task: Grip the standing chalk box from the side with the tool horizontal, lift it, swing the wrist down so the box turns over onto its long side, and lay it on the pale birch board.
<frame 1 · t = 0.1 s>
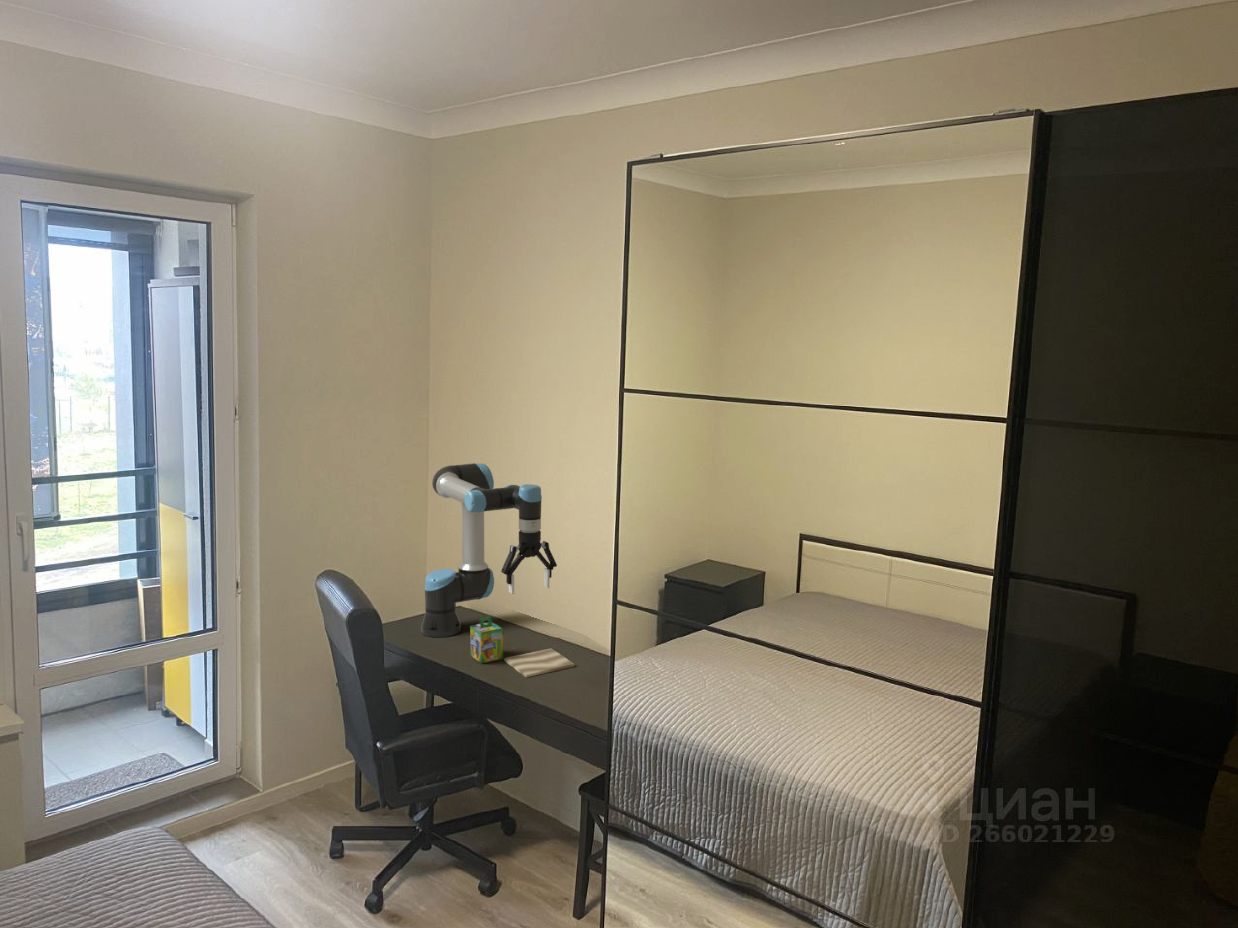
hand: (529, 590, 303), 28 cm above the table, tool pointing down, fingers open, 13 cm apart
birch board: (539, 663, 310), on the table
chalk box: (486, 658, 315), on the table
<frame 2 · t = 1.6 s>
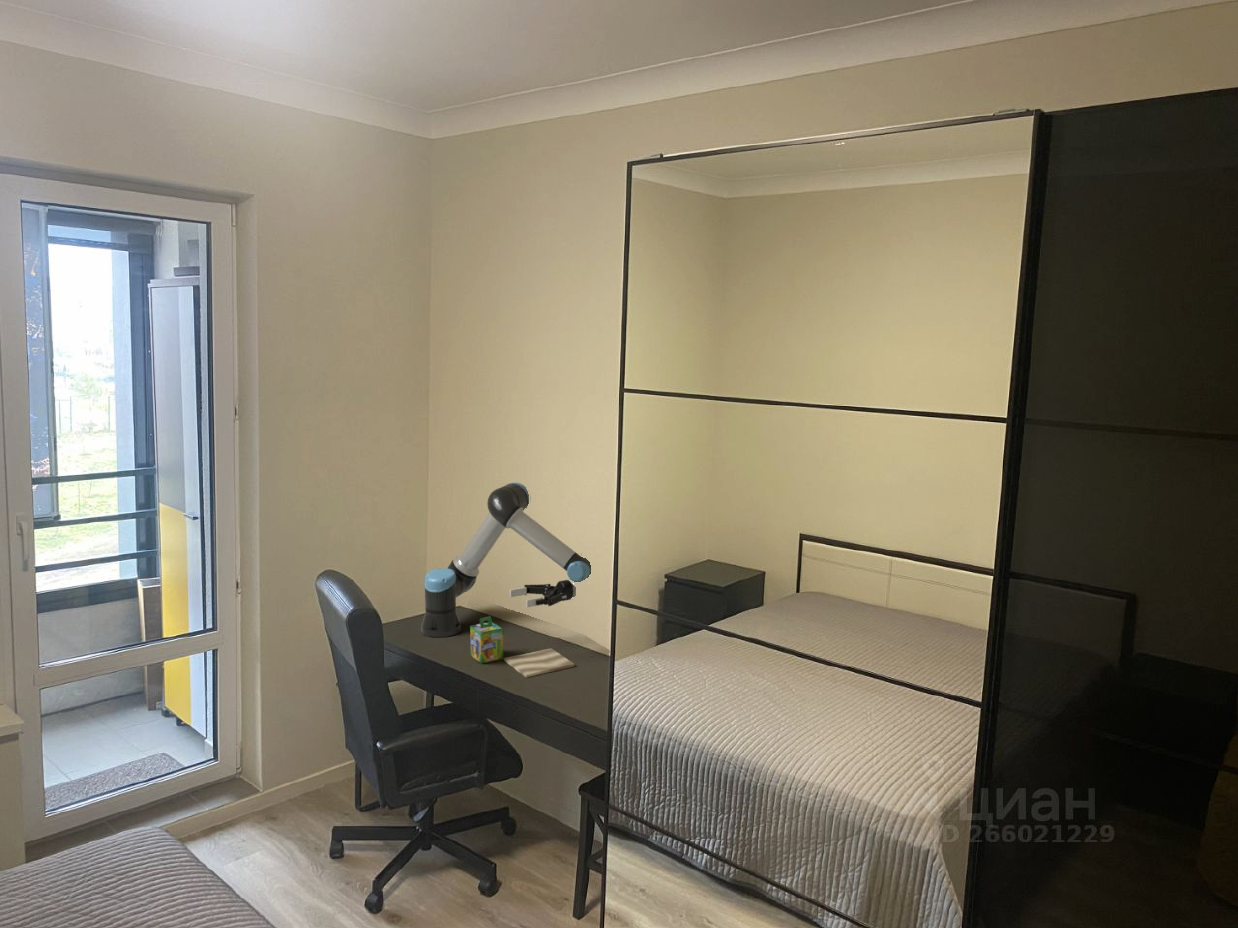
hand: (518, 598, 319), 20 cm above the table, tool horizontal, fingers open, 13 cm apart
nothing on the table moved.
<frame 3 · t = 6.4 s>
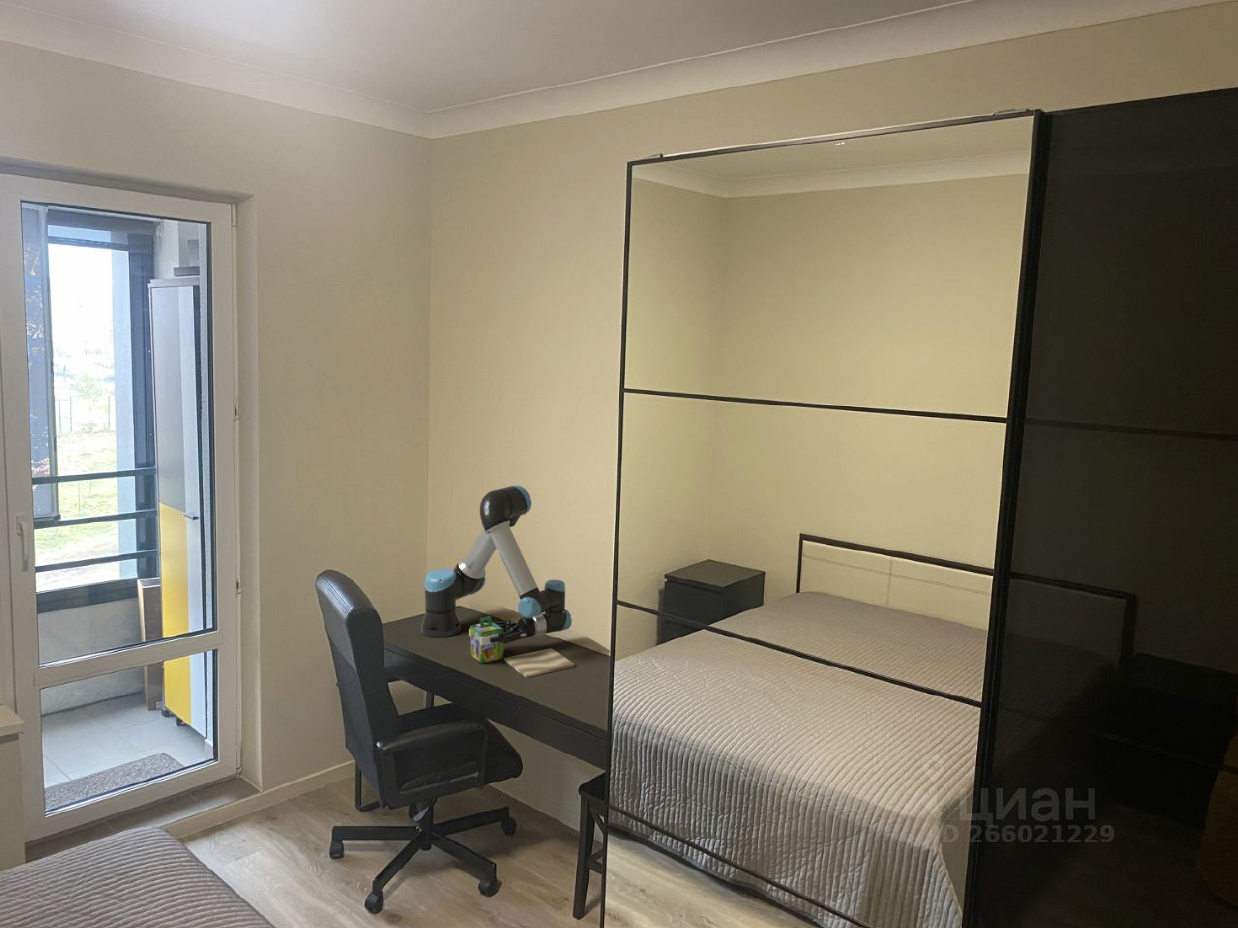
hand: (475, 636, 311), 9 cm above the table, tool horizontal, fingers closed on chalk box, 9 cm apart
chalk box: (486, 657, 315), on the table, touching gripper
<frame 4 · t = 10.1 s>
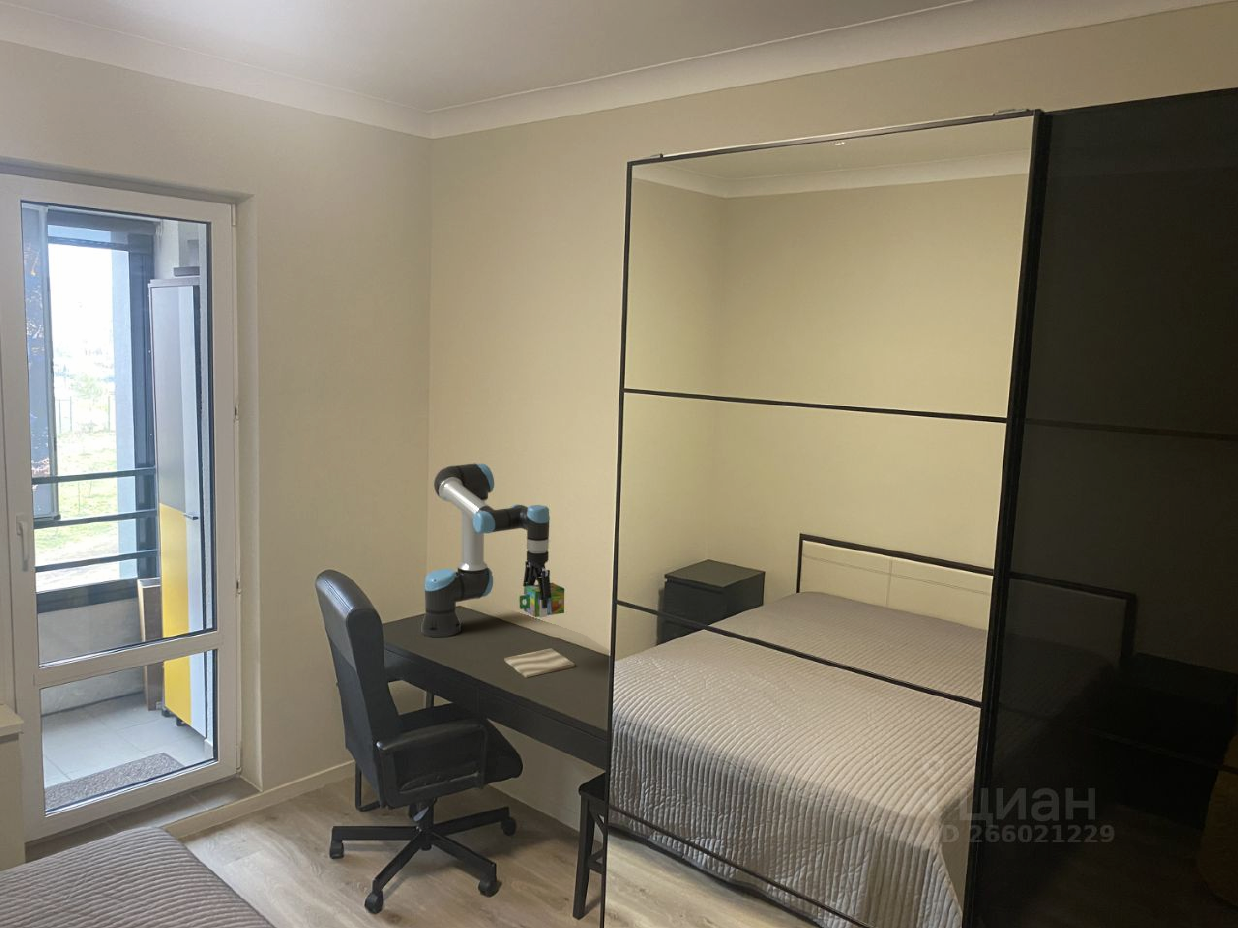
hand: (536, 612, 307), 19 cm above the table, tool pointing down, fingers closed on chalk box, 9 cm apart
chalk box: (559, 596, 311), point 23 cm above the table, touching gripper
when the fingers open (2 cm above the table, at t = 14.4 s): chalk box drops 1 cm, resting on birch board.
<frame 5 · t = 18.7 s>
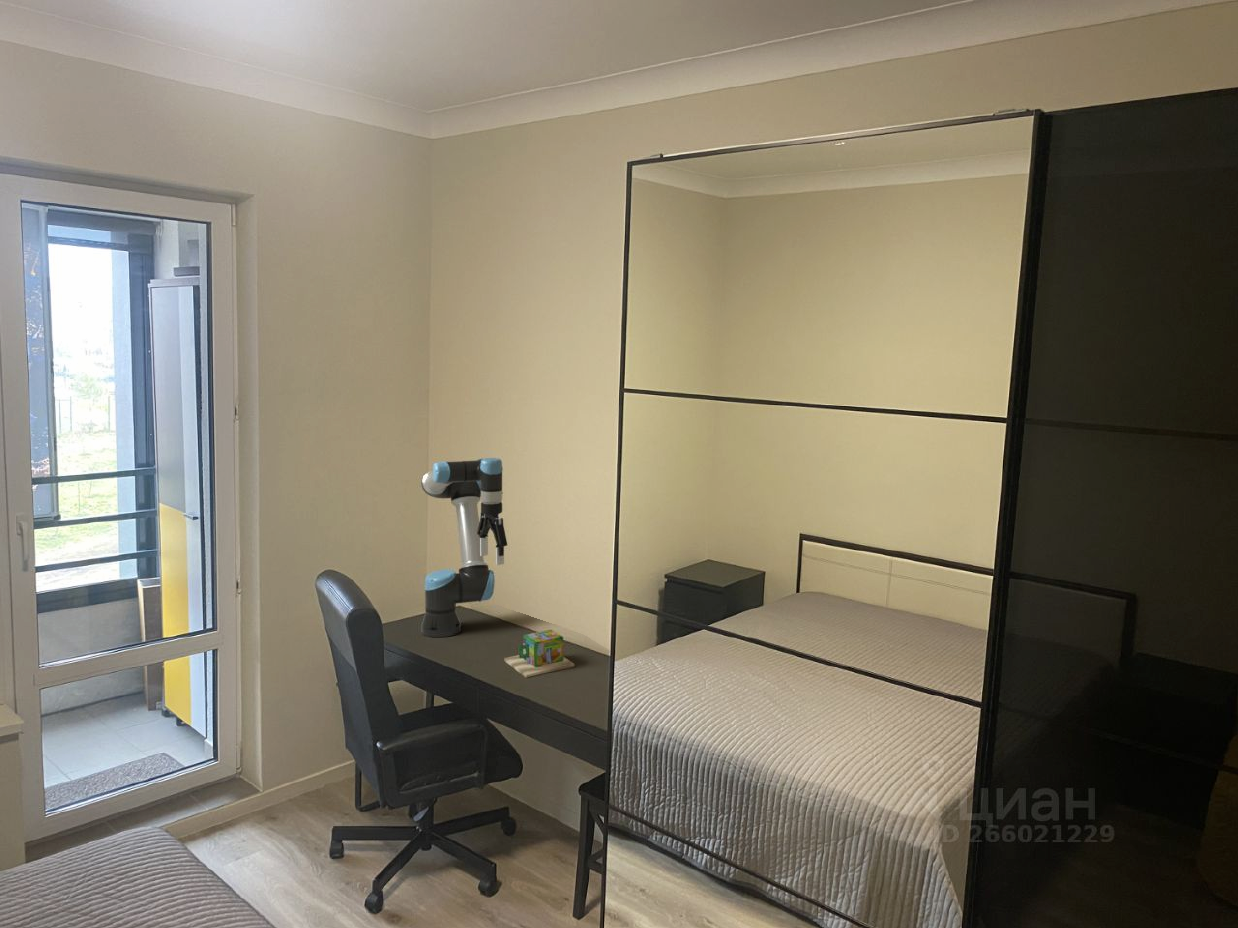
hand: (491, 559, 315), 35 cm above the table, tool pointing down, fingers open, 13 cm apart
chalk box: (557, 644, 314), point 6 cm above the table, touching birch board
at the end: chalk box inside the target area on the birch board (7.7 cm from its centre), point 5.6 cm above the birch board's base; chalk box tilted 91°; the gripper is holding nothing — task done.
